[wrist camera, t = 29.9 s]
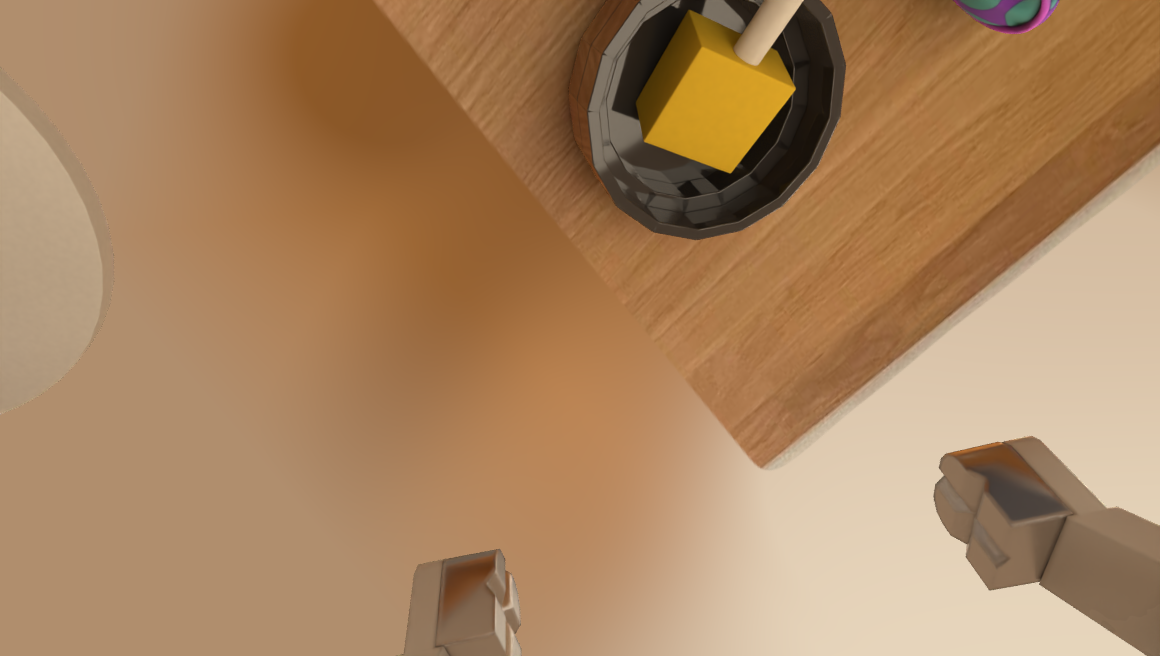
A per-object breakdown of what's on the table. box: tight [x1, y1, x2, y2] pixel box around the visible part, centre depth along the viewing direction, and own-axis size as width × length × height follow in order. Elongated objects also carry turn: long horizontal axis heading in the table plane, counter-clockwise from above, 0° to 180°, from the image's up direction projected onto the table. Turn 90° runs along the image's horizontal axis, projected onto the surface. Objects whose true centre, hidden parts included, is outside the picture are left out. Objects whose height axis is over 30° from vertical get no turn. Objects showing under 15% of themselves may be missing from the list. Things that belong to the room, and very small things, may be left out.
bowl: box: [568, 0, 846, 240], centre depth 36 cm, size 14×14×6 cm
